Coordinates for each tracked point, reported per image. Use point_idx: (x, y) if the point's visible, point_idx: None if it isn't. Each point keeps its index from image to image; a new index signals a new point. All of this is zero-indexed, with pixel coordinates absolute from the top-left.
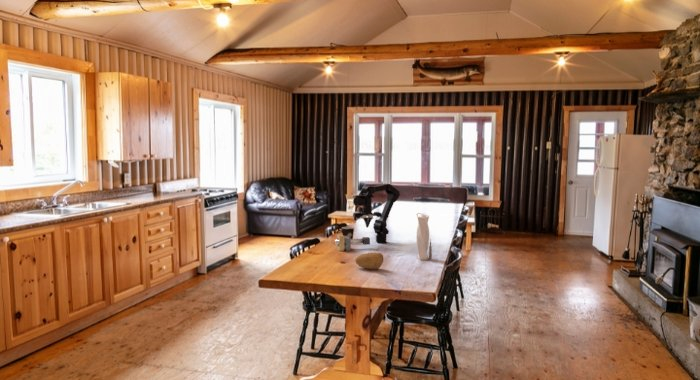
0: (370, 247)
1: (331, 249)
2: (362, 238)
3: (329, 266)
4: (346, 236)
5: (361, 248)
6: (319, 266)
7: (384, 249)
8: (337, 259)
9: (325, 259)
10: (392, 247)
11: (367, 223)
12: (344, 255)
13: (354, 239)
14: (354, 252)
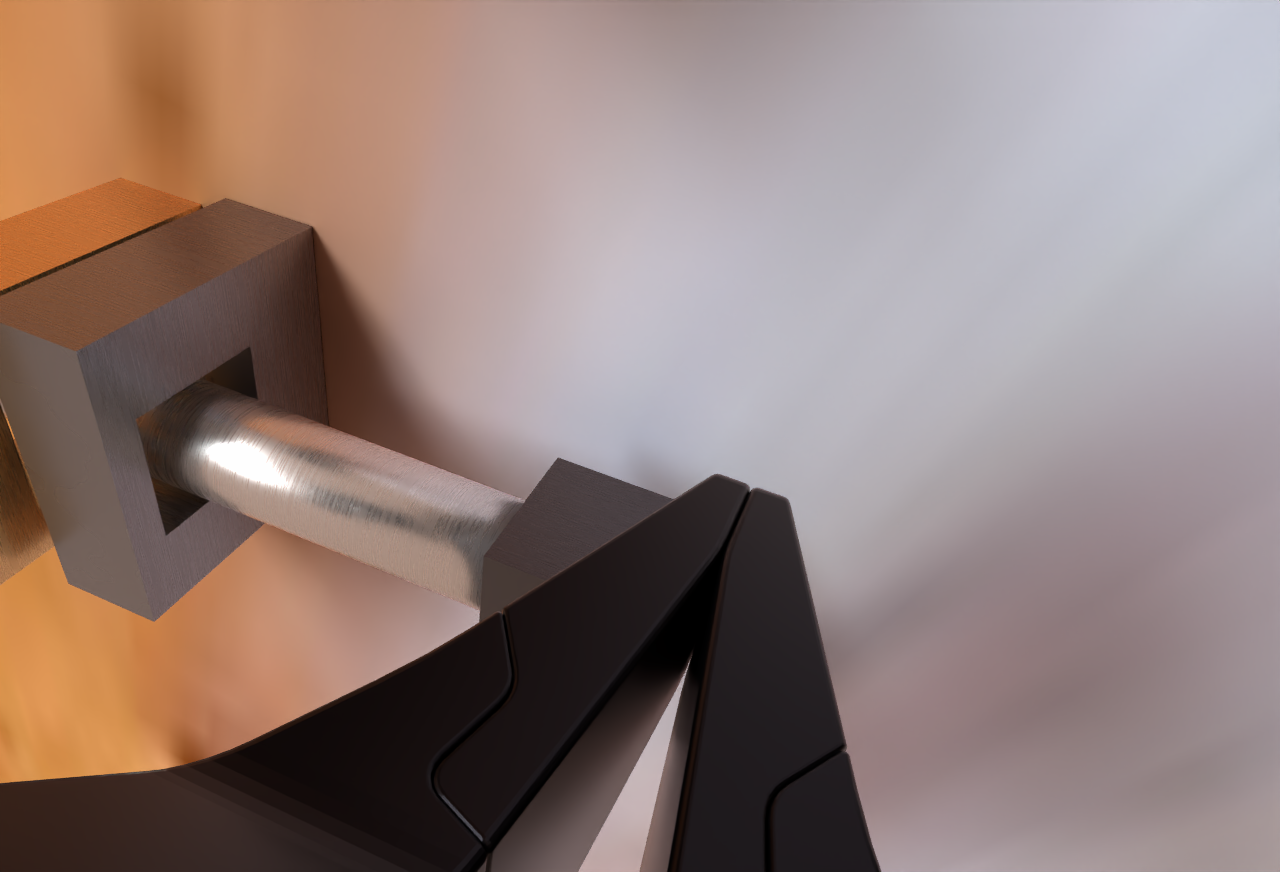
0: (790, 462)
1: (31, 206)
2: (497, 547)
3: (95, 773)
4: (59, 419)
5: (566, 430)
6: (23, 730)
7: (948, 726)
8: (147, 679)
9: (35, 612)
10: (1271, 730)
11: (598, 818)
12: (222, 611)
13: (286, 530)
14: (370, 575)
